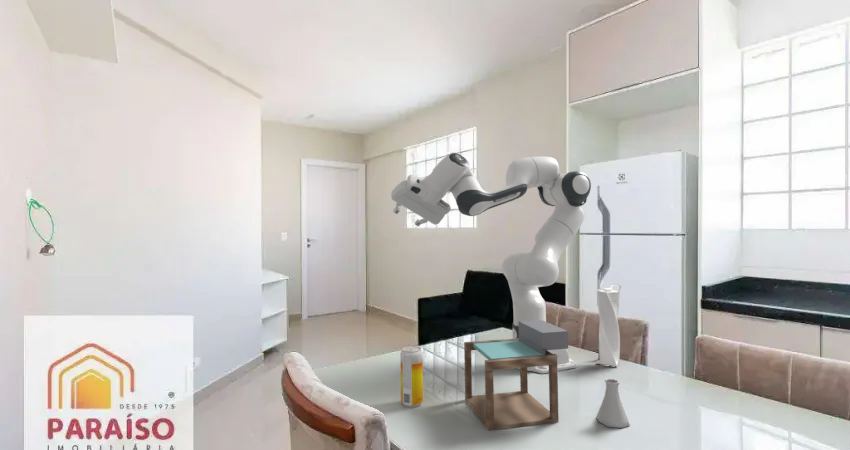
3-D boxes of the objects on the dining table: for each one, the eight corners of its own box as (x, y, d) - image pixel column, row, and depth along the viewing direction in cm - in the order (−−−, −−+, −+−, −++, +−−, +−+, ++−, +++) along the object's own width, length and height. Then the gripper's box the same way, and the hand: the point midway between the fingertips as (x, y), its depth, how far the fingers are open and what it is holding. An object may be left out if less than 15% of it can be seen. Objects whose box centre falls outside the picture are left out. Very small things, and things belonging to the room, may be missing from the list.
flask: (591, 415, 102) (590, 376, 103) (618, 414, 103) (617, 374, 103) (606, 429, 95) (605, 386, 95) (635, 428, 96) (634, 385, 96)
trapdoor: (541, 342, 116) (541, 319, 116) (568, 356, 103) (567, 331, 103) (473, 347, 112) (473, 324, 112) (491, 362, 98) (491, 336, 99)
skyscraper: (624, 362, 143) (622, 283, 144) (621, 369, 136) (619, 286, 137) (598, 359, 147) (596, 282, 148) (595, 365, 141) (593, 284, 141)
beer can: (426, 400, 113) (425, 346, 113) (418, 409, 107) (418, 352, 108) (406, 397, 115) (405, 344, 115) (397, 406, 109) (396, 350, 110)
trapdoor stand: (525, 393, 117) (524, 337, 117) (558, 421, 99) (557, 356, 100) (465, 399, 113) (464, 342, 114) (488, 430, 96) (487, 362, 96)
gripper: (452, 201, 144) (428, 226, 150) (405, 172, 136) (382, 199, 142) (454, 212, 139) (429, 237, 145) (406, 182, 131) (381, 210, 137)
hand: (405, 218), depth 144 cm, fingers open, 8 cm apart
